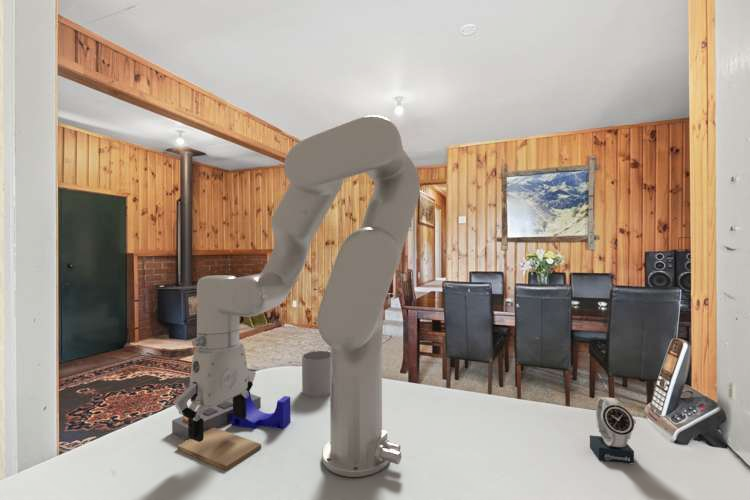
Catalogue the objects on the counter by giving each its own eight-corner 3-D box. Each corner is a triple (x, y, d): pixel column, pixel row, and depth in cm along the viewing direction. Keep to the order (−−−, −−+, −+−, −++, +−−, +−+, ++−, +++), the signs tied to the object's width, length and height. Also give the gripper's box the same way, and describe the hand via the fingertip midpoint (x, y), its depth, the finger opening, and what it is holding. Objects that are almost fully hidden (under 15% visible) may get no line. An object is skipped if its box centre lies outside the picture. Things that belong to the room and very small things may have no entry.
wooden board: (261, 448, 69) (261, 444, 69) (226, 470, 62) (226, 466, 62) (213, 430, 76) (213, 427, 76) (177, 449, 69) (177, 445, 69)
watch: (603, 472, 62) (603, 408, 62) (586, 446, 70) (586, 390, 69) (640, 476, 60) (640, 411, 60) (618, 449, 68) (618, 392, 68)
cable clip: (231, 425, 79) (231, 398, 79) (244, 416, 83) (244, 390, 83) (279, 433, 75) (279, 405, 75) (290, 423, 80) (290, 396, 80)
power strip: (244, 403, 90) (244, 389, 90) (261, 409, 87) (261, 395, 87) (172, 434, 75) (172, 417, 75) (188, 443, 72) (188, 425, 72)
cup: (323, 384, 102) (323, 349, 102) (339, 393, 96) (339, 355, 96) (296, 391, 97) (296, 354, 97) (312, 401, 91) (311, 362, 91)
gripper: (189, 353, 60) (189, 455, 60) (266, 332, 75) (266, 413, 75) (162, 347, 63) (163, 444, 63) (241, 328, 79) (241, 406, 79)
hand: (219, 427), depth 69 cm, fingers open, 9 cm apart
